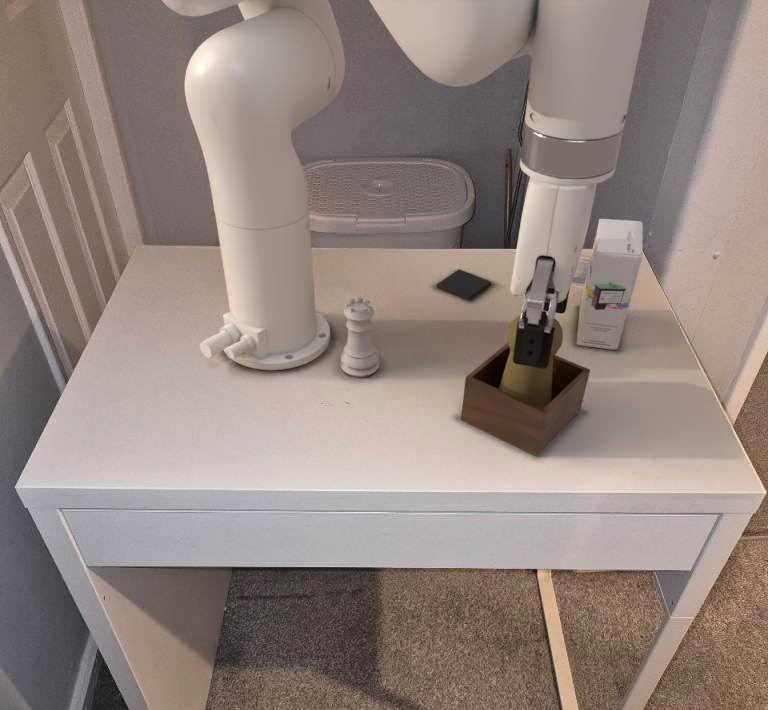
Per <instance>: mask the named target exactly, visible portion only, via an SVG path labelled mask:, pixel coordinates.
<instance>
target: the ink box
mask: <svg viewBox="0 0 768 710" xmlns="http://www.w3.org/2000/svg"><path fill="white" fill-rule="evenodd" d="M643 224H644V223H643V222H642V221H640V220H630V219H629V220H628V219H613V218H612V219H611V218H599V219H598V224H597V229H596V234H595V237H594V242H593V247H592V250H591V255H590V259H589V264H588V268H587V273H586V277H585V281H584V287H583V290H582V295H581V299H580V304H579V310H578V311H579V312H578V322H577V323H578V324H577V333H576V345H577V346H582V347H590V348H596V349H597V348H598V349H606V350H613V351H614V350H618V349H619V346H620V342H621V338H622V334H623V331H624V327H625V323H626V320H627V315H628V312H629V308H630V304H631V300H632V296H633V293H634V289H635V286H636V283H637V278H638V274H639V270H640V266H641V263H642V260H643V253H644V251H643V248H644V244H643V243H644V242H643V240H644V235H643V233H644V227H643V226H644V225H643Z"/></svg>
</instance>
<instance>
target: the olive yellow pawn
mask: <svg viewBox="0 0 768 710" xmlns="http://www.w3.org/2000/svg"><path fill="white" fill-rule="evenodd" d="M547 314H548V313H546V316H547ZM520 316H521V314H520V315H517V316H516V317H515V318H514V319H513V320H512V321H511V323H510V325H509V327H508V329H507V337H506V341H507V343H508V346H509V348H510V350H511V351H510V354H509V357H508V360H507V363H506V367H505V370H504V373H503V376H502V379H501V383H500V386H499V389H500V390H502V391H504V392H506V393H508V394H511V395H513V396H515V397H517V398H519V399H522V400H524V401H526V402H528V403H530V404H533V405H535V406H537V407H539V408H541V409H544V408H545V407H546V406H547V405H548V404H549V403H550V402H551V393H552V372H553V356H554V355H557V354H558V352H559V350H560V349H561V346H562V344H563V340H564V332H563V328H562V325H561V324H560V321H558V319H556V317H554V320H553V324H552V327H554V328H555V331H554V337H553V343H552V348H551V354H550V360H549V364H548V367H547V368H545V369H542V368H537V367H531V366H525V365H520V364H515V363H514V362H513V354H514V346H515V339H516V331H517V324H518V322H519V321H520Z"/></svg>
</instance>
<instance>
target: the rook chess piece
mask: <svg viewBox="0 0 768 710" xmlns="http://www.w3.org/2000/svg"><path fill="white" fill-rule="evenodd" d="M375 313H376V312H375V309H374V307H373V306H372V303H371V301H370V300H369V299H368V298H366V299H364V297H359V296H358V297H357V301H356V299H355V298H354V297H352V298H350V299H349V301H347V303H346V307H345V308H344V309H343V315H344V316H345V317H346V319H347V321H346V323H345V326H346V328H347V339H346V344H345V345H344V348H343V349H342V351H341V353H340V359H339V360H340V363H339V366H340V368H341V370H342V371H343V373H345V374H347V375H348V376H350V377H353V378H359V379H361V378H367V377H370V376H372V375H374V374H375V373H376V372H377V371H378V370H379V368H380V365H381V362H380V354H379V352H378V350H377V348H376V346H375V344H374V343H373V338H372V327H373V322H372V320H371V319H372V318H373V316H374V315H375Z"/></svg>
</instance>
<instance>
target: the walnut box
mask: <svg viewBox="0 0 768 710" xmlns="http://www.w3.org/2000/svg"><path fill="white" fill-rule="evenodd" d="M510 351H511V350H510V348H509V346H508V342H506V343H505V344H504V345H503V346H502V347H501V348H499V349H498V350H497V351H495V352H494V353H493V354H492V355H491V356H489V357H488V358H487V359H486V360H484V361H483V362H482V363H481V364H479V365H478V366H477V367H476V368H475V369H474V370H473V371H471V372H470V373H469V374H467V375H466V376H465V379H464V389H463V398H462V405H461V406H462V407H461V415H460V416H461V417H460V420H461V421H462V422H464V423H466V424H468V425H470V426H473V427H475V428H477V429H479V430H481V431H483V432H485V433H487V434H489V435H491V436H493V437H495V438H498V439H499V440H501V441H503V442H506V443H507V444H510V445H512V446H514V447H516V448H518V449H520V450H522V451H524V452H526V453H528V454H530V455H532V456H534V457H537V456H538V455H539V454H540V453H541V452H542V451H544V449H545V448H547V446H548V445H549V444H550V443H551V442H552V441H553V440H554V439H555V438H556V437H557V436H558V435H559V434H560V433H561V432H562V431H563V430H564V429H565V428H566V427H567V426H568V425H569V424H570V423H571V422H572V421H573V420H574V419H575V418H576V417H577V415H579V414H580V413H581V409H582V404H583V401H584V397H585V393H586V389H587V386H588V381H589V376H590V373H591V369H590V368H588V367H585V366H582V365H580V364H579V363H575V362H573V361H570V360H568V359H566V358H563V357H560V356H559V355H557V354H555V355H554V356H553V372H552V393H551V402H550V403H549V404H548V405H547V406H546V407H545V408H544V409H541V408H539V407H537V406H535V405H533V404H530V403H528V402H526V401H524V400H522V399H519V398H517V397H515V396H513V395H511V394H508V393H506V392H504V391H502V390H500V389H499V386H500V383H501V379H502V376H503V373H504V370H505V367H506V363H507V360H508V357H509V354H510Z"/></svg>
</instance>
